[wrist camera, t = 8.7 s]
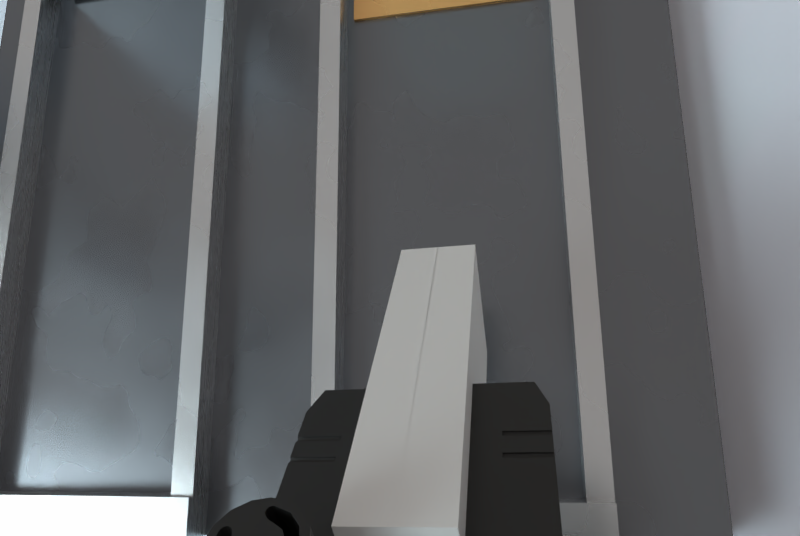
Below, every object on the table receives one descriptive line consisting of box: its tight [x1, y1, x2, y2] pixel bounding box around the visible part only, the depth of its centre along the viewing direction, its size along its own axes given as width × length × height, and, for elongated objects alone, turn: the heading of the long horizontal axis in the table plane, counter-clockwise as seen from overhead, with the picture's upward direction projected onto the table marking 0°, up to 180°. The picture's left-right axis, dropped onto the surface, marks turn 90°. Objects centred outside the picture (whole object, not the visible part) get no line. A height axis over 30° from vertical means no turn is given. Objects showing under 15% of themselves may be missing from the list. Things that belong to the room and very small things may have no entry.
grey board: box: [0, 0, 733, 536], centre depth 19 cm, size 25×21×2 cm
